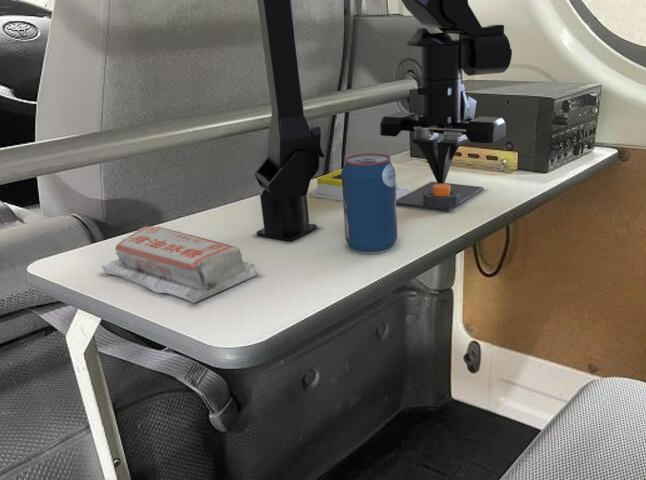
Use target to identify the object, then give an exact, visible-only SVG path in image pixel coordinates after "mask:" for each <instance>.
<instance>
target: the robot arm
mask: <svg viewBox="0 0 646 480" xmlns="http://www.w3.org/2000/svg"><path fill="white" fill-rule="evenodd" d="M401 2H402V4H403V6H404V7H405V9H406V10H407V11H408V12H409V13H410V14H411V15H412V16H413V17H414V19H416V20H417V21H418V22H419V23H420V24H421V25H422V26H425V27H427V28H431V29H433V28H435V29H437V30H439V31H440V32H429V30H428V29H427V28H425V27H418V28H416V29H417V30H415V31H416V32H415V34H413V35H412V36H411V37H410V38H409V39H408V40H407V42H406V43H407V44H406V45H407V46H408V47H416V48H421V86H418V87H417V95H419V96H421V109H422V110H421V115H419V116H418V114H417V113H416V112H401V111H400V112H399V111H397V112H394V113H391V114H388V115H384V116H383V117H382V118H381V120H380V123H379V135H380V136H382V137H398V136H399V135H400V134H401V133H402V131H404V132H405V131H406V132H414V138H413V139H412V144H414V145H415V144H416V145H417V146H418V148H419V150H420V151H421V154H422V155H423V156H424V157H425V159H426V161H427V164H428V166H429V169H430V170H431V172H432V174H433V176H434V179H435V180H436V181H435V182H437V183H440V184H443V183H446V180H447V177H448V174H449V171H450V168H451V166H452V164H453V160H454V157H455V156H456V153H457V151H458V149H459V147H460V146H461V145H462V144H464V143H466V142H468V141H470V143H478V144H493V143H495V142H497V141H499V140H501V139H503V138H505V137H507V136H506V135H507V133H506V132H507V125H506V121H505V120H504V118H503V117H499V116H498V117H497V116H478V117H476V118H475V114H476V108H477V100H476V99H474V98H473V97H471V96H469V95H466V87H465V83H462V72H464V74H465V75H466V76H469V77H470V76H472V77H473V76H482V75H493V74H494V75H495V74H502V73H505V72H506V71H507V70H508V69H509V67H510V64H511V62H512V57H513V56H512V55H513V49H512V48H511V43H510V39H509V38H508V36H507V35H506V34H505V25H504V24H490V25H487V26H482V25H481V23H480V21H479V20H478V18H477V16H476V14H475V13H474V11H473V9H472V8H471V6H470V5H469V0H401ZM256 3H257V10H258V18H259V24H260V32H261V40H262V47H263V54H264V61H265V70H266V77H267V78H266V79H267V84H268V85H267V86H268V93H269V100H270V101H269V102H270V108H271V118H270V123H269V126H268V127H269V128H268V135H267V140H268V141H267V157H266V158H265V159H264V161H263V162H262V163H261V164H260V166H258V168H257V169H256V171H255V172H254V175H253V176H254V177H255V180H256V181H257V183H258V185H259V186H260V187H261V188H262V189H263V191H262V193H261V194H259V199H260V206H261V214H262V221H263V228H262V229H259V230H257V231H256V236H260V237H265V238H271V239H274V240H275V239H277V240H280V241H281V240H282V241H288V242H291V241H294V240H296V239H299V238H301V237H302V236H305V235H307V234H309V233H311V232H312V231H315V230H316V229H317V228H318V225H317V224H316V223H315V224H314V223H309V222H310V217H309V208H308V197H307V195H308V193H309V188H310V185H311V180H312V179H313V178H314V177H315V176H316V174H317V173H318V172H319V170H320V166H321V159H320V158H325V155H324V152H323V150H322V147H321V139H322V137H321V136H322V132H321V131H322V130H321V127H320V126H319V125H316V124H314V123H312V122H310V121H309V120H308V119H307V117H306V114H305V110H304V103H303V102H304V101H303V91H302V83H301V75H300V67H299V66H300V65H299V56H298V47H297V40H296V39H297V38H296V30H295V21H294V13H293V11H294V10H293V3H292V0H256ZM451 35H458V38H456V39H455V38H454V39H453V38H452V36H451Z"/></svg>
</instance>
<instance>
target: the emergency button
mask: <svg viewBox="0 0 646 480" xmlns="http://www.w3.org/2000/svg"><path fill="white" fill-rule="evenodd" d="M342 170H343V168H341V169H338V170H335V171H332V172H329V173H326V174H324V175H321V176H318V177H317V179H316V189H313V190H311V191H310V196H311V197H313V198H315V197H317V198H323V199H330V200H336V201H342V202H343V191H342V176H341V173H342ZM395 182H396V200H398V199H400V198H401V197H403V196H405V195H407V194H409V189H408V188H406V187H398V180H397V174H396V172H395Z"/></svg>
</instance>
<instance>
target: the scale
mask: <svg viewBox="0 0 646 480" xmlns="http://www.w3.org/2000/svg"><path fill="white" fill-rule="evenodd" d="M435 184H440V183H437V181H429V182H428V183H426V184H424V185H422V186H420V187H419V188H417V189H414V190H413V191H411V192H408V194H406V195H404V196H401V197H399V198H397V199H396V207H397V206H398V207H406V208H414V209H420V210H421V209H422V210H429V211H437V212H443V213H450V212H452V211H453V210H455V209H456V208H458V207H460V206H461V205H463V204H464V203H466V202H467V201H469V200H470V199H472V198H474V197H476V196H477V195H478V194H479V193H482V192H483V191H484V188H485V187H484V186H477V185H469V184H467V185H466V184H459V183H450V182H444V183H443V184H448V185H450V195H448V196H434V195H433V185H435Z"/></svg>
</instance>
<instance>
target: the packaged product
mask: <svg viewBox="0 0 646 480" xmlns="http://www.w3.org/2000/svg"><path fill="white" fill-rule="evenodd" d="M115 255H117V257H118V258H117V259H115V260H112V261H109V263H108V264H105V265H104V264H101V268H102V270H103V272H104V274H108V275H112V276H117V277H122V278H123V279H125V280H127V281H130V282H133V283H136V284H137V285H140V286H143V287H145V288H147V289H149V290H150V291H152V292H154V293H157V294H167V295H172V296H175V297H178V298H181V299H184V300H186V301H189V302H190V303H194V304H195V303H198V302H199V301H201V300H204V299H206V298H209V297H211V296H212V295H215V294H218V293H220V292H222V291H224V290H227V289H229V288H231V287H234V286H236V285H238V284H240V283H243V282H244V281H247V280H249V279H251V278H253V277H256V276H257V272H256V267H255V264H254V263H252V264H250V263H249V262H247V261H243V259H242V257H243V254H242V253H241V249H240V248H239V247H237V246H234V245H230V244H228V243H223V242H219V241H217V240H211V239H208V238H204V237H201V236H196V235H193V234H189V233H185V232H181V231H177V230H173V229H169V228H166V227H161V226H147V225H146V226H143V227H141V228H139V229H137V231H135V232H133V233H132V234H130V235H129V236H128V237H125V238H123V239H122V240H121V241H120V242H118V243H117V244H116V245H115Z"/></svg>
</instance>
